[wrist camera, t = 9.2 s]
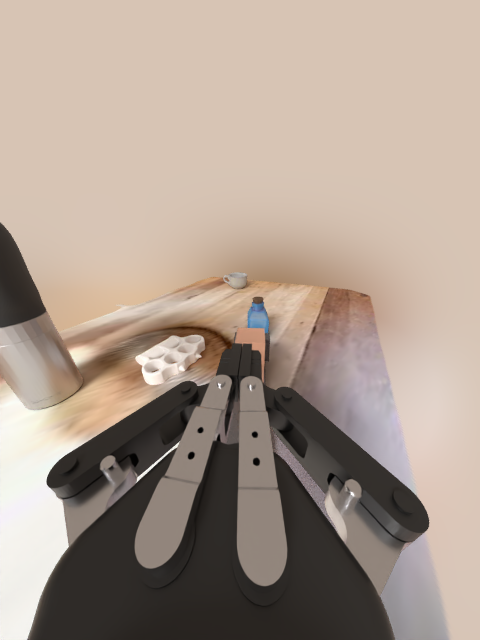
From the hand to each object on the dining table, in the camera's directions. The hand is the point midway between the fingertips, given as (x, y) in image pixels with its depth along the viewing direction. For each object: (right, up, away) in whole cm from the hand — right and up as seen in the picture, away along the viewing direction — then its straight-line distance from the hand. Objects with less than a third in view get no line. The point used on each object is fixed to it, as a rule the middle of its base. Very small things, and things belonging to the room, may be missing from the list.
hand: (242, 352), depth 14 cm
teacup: (-3, +22, +95) cm, 97 cm away
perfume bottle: (+5, -2, +44) cm, 45 cm away
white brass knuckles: (-18, -8, +34) cm, 39 cm away
